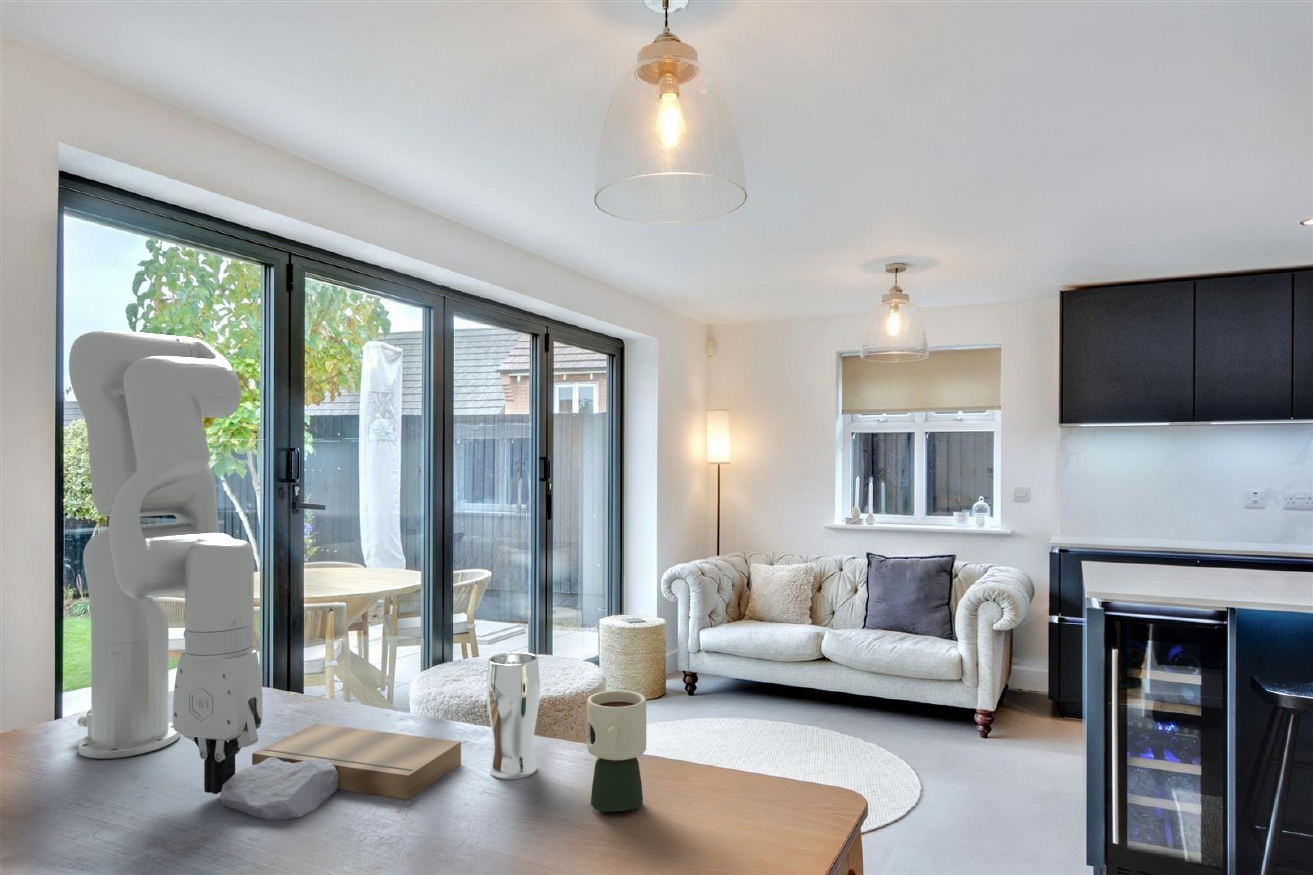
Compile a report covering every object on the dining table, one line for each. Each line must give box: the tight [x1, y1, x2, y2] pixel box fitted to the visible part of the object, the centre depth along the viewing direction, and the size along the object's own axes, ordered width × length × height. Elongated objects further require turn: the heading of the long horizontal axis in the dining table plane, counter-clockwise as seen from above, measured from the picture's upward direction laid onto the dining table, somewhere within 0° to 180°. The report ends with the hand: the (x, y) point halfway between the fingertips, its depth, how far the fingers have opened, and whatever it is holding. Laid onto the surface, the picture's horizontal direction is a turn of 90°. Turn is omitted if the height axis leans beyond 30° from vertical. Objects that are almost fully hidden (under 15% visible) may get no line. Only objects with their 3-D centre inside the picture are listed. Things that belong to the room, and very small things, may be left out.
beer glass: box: [486, 651, 541, 781], centre depth 110 cm, size 7×7×15 cm
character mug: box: [586, 689, 647, 813], centre depth 99 cm, size 11×7×13 cm, turn 177°
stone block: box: [219, 757, 339, 821], centre depth 101 cm, size 12×5×10 cm
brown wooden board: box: [251, 723, 462, 801], centre depth 111 cm, size 24×12×3 cm, turn 72°
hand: (219, 788), depth 102 cm, fingers closed
